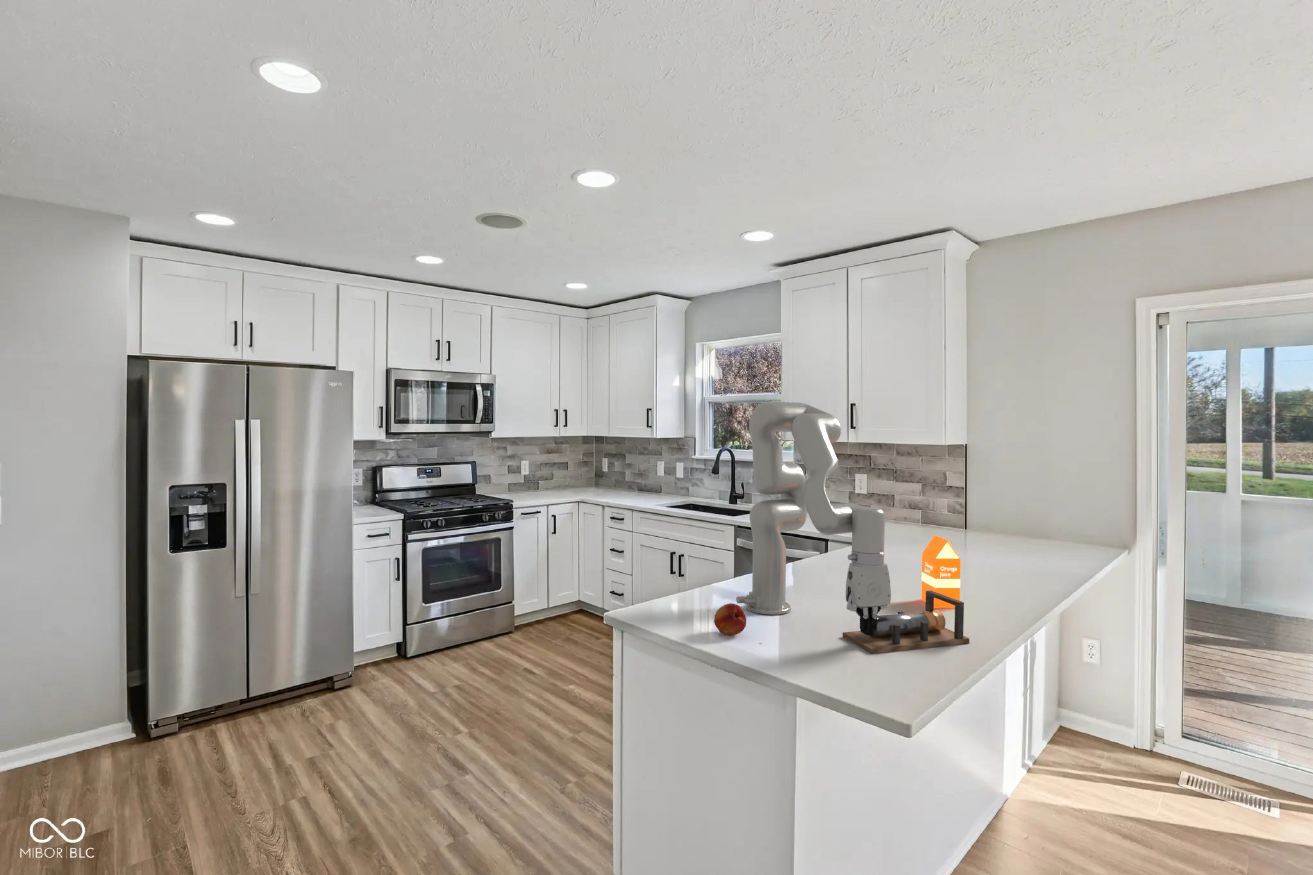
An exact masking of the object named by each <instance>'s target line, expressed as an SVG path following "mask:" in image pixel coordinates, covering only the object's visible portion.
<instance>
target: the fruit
mask: <svg viewBox="0 0 1313 875" xmlns="http://www.w3.org/2000/svg"><path fill="white" fill-rule="evenodd" d="M713 623H714V626H715V627H716V629H717V630H718V631H719V633H720V634H722V635H725V636H736V635H738V634H741V633H742V632H743V631H744V629H745V628H746V627H747V617H746V613H745V612H744V610H743V608H742V607H741V606H740V605H738V604H736V603H732V602H731V603H730V602H729V603H725V604H723V605H722V606H720V607H719V608H718V609H717V610H716V612H715V614H714V619H713Z"/></svg>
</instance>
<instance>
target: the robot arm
mask: <svg viewBox="0 0 1313 875" xmlns="http://www.w3.org/2000/svg"><path fill="white" fill-rule="evenodd" d="M748 423H749V425H748V430H749V434H750V435H749V436H750V439H751V446H752V447H751V448H752V469H753V471H752V472H753V485H754V488H755V491H756V492H757V493H759V494H760V495H764V496H774V495H775V496H776V495H780V498H775V499H774V498H773V499H763V500H760V501H758V502H755V504H754V505H753V506H751V509H750V512H749V524H750V528H751V534H752V576H751V577H752V581H751V582H752V585H751V586H752V587H751V588H752V589H751V590H752V591H748V594H746V596H744V595H741V596H740V595H739V596H736V598H735V601H736V603H737V604H744V605H746V608H747V610H748V611H751V612H753V613H757V614H761V615H769V616H771V615H772V616H774V615H777V616H778V615H784V614H788V613H789V612H791V610H792V609H791V608H792V605H790V604H789V603H788V602H786V594H787V593H786V586H787V580H786V578H787V548H786V544H785V540H784V538H783V536H782V533H784V532H791V531H792V532H793V531H797V530H800V529H802V527H804V525H805V523H806V521H807V514H808V516H809V518H810V519H809V520H810V521H811V522H812V525H813V526H814V527H815V530H816V531H817V532H819V533H821V534H822V535H825V536H834V535H841V534H851V554H848V555H847V559H848V561H850V563H849V566H848V568H847V573H846V574H847V575H846V584H845V601H846V603H847V605H846V610H848V611H850V612H855V613H856V614H857V616H859V629H860V630H859V631H861V632H862V633H864V634H866V635H873V634H874V618H876V617H877V615H878V614H879V612H880V611H881V610H882V611H883V610H884V609H887V608H888V606H889V605H890V604H891V601H892V590H891V589H892V588H891V578H890V577H891V576H890V571H889V567H888V564H887V563H885V532H886V531H885V524H886V521H885V520H886V518H885V516H886V514H885V512H884V510H883V509H882V508H878V507H873V506H871V507H870V506H863V505H860V504H858V503H857V504H856V503H853V502H845V503H843V502H842V503H834V504H833V503H831V502H830V500H829V498H828V495H827V491H826V487H825V486H826V480H827V477H828V476H829V474H831V473H833V472H834V471H835V470H836V469H837V468H838V466H839V460H838V457H837V455H836V453H835V450H834V448H833V445H832V444H834V443H836V442H838V440H839V439H840V437H841V434H842V428H841V424H840V423H839V420H838V419H837V418H836V417H835V416H834V415H833V414H831V413H829V412H826V411H824V410H822V409H819V408H816V407H814V406H812V405H810V404H807V403H804V402H793V401H791V402H790V401H788V402H786V401H768V402H763V403H761V404H759V405H757V406H756V407H755V408H754V410H753V411H752V413H751V415H750V417H749V422H748ZM777 432H778V433H779V432H780V433H781V432H784V433H787V432H790V433H791V436H792V437H793V440H794V442H795V445H796V448H797V450H798V453H799V455H800V457H801V460H802V462H803V466H804V468H805V471H806V474H807V475H806V477H805V474H804V471H803V469H802V467H801V466H800V465H799V464H798V463H796V462H793V461H784V458H783V447H782V443H781V441H780V439H779V437H778V435H777V434H776V433H777Z"/></svg>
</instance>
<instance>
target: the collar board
mask: <svg viewBox="0 0 1313 875" xmlns="http://www.w3.org/2000/svg"><path fill="white" fill-rule="evenodd" d="M934 598H936V599H939V600H941V601H944V602H947V603H949V604H952V605H955V608H954V631H953V630H951V629H950V628H947V627H945V628H944V629H943V630H941V631H931V632H928V623H927V622H921V625H920V633H912V634H903V635H900V625H898V624H893V635H892V636H884V637H875V638H873V637H871V636H870V635H866V634H864V633H862V632H861V631H860V630H854V631H843V632H842V638H843V639H845V638H846V639H845V640H847V641H848V640H849V642H850V643H852V644H854V645H855V644H856V646H857V645H858V646H857V647H859V648H860V649H862V650H864V651H866V652H867V653H870V654H871V655H873V654H882V653H891V652H901V651H910V650H912V651H913V650H920V649H928V648H929V649H930V648H937V647H939V648H940V647H947V646H955V645H965V644H970V638H969V637H967V636H965V635H964V623H965V622H964V620H965V619H964V616H965V615H964V614H965V613H964V612H965V602H963V601H962V600H960V601H959V600H956V599H953V598H950V597H948V596H945V595H942V594H939V593H937V592H934V591H931V590H929V591H926V602H925V610H924V611H928V610H931V611H934V610H935V608H934ZM902 613H905V612H903V611H897V614H902ZM877 616H879V615H878V614H877Z"/></svg>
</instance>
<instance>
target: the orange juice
mask: <svg viewBox="0 0 1313 875" xmlns="http://www.w3.org/2000/svg"><path fill="white" fill-rule="evenodd" d="M921 556H922V557H921V595H920V597H921V601H923V602H925V603H926V591H929V590H931V591H934V592H937V593H939V594H942V595H945V596H948V597H950V598H953V599H956V600H959V601H961V564H962V563H961V562H962V561H961V558H960V557H959V555H958V553H957V552H956V550H955V549H954V547H953V546H952V544H951V543H950V541H949V540H948V539H946V538H943V537H941V536H938V535H936V534H935V535H933V537H932V538H931V540H930V541H929V542H928V544H927V545H926V547H925V548H924V550H922V552H921ZM934 609H955V605H952V604H949V603H947V602H944V601H941V600H939V599H936V598H934Z"/></svg>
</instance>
